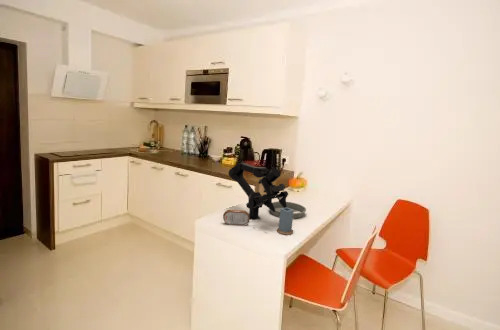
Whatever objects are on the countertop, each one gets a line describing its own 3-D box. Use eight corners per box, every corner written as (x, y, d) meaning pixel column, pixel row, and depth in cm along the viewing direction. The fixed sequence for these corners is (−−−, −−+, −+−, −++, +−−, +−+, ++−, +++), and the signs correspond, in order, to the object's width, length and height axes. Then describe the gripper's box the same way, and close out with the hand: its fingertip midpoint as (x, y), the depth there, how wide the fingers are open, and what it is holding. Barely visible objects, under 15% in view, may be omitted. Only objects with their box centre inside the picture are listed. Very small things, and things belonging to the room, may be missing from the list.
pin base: (274, 228, 161) (274, 219, 161) (288, 228, 164) (289, 219, 163) (280, 235, 153) (281, 226, 152) (295, 234, 156) (296, 225, 155)
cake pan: (275, 220, 176) (276, 213, 175) (263, 207, 199) (263, 201, 198) (312, 219, 182) (313, 212, 182) (296, 207, 206) (296, 201, 205)
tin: (249, 224, 166) (250, 210, 165) (249, 226, 163) (250, 212, 161) (222, 222, 165) (223, 208, 164) (222, 224, 162) (223, 210, 161)
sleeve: (278, 229, 159) (280, 208, 157) (284, 227, 162) (286, 207, 160) (285, 232, 155) (287, 211, 153) (291, 230, 158) (293, 210, 156)
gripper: (264, 180, 155) (277, 206, 149) (287, 177, 167) (300, 201, 161) (253, 190, 162) (265, 215, 156) (276, 187, 174) (288, 210, 168)
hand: (280, 210), depth 160 cm, fingers open, 9 cm apart
